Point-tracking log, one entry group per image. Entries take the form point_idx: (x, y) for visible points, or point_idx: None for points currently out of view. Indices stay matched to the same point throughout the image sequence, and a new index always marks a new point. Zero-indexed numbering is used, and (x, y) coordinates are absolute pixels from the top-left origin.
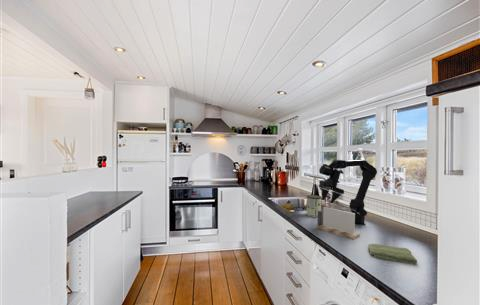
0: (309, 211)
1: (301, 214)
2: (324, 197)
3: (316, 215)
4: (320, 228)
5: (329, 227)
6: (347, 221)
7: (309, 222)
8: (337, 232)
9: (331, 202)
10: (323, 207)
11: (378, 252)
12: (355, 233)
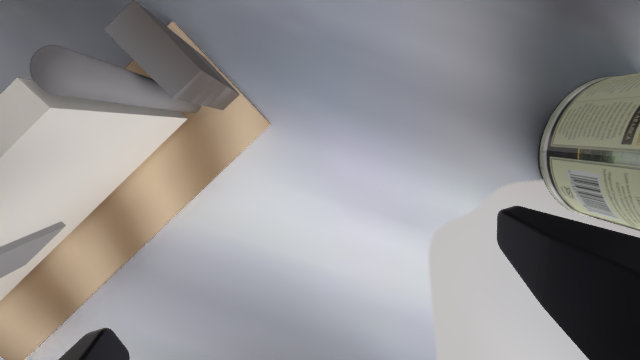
0: (616, 88)
1: (624, 21)
2: (559, 299)
3: (551, 160)
4: (131, 66)
5: (151, 161)
6: None
7: (351, 24)
8: None
9: (82, 344)
10: (44, 84)
11: None
12: (25, 339)
